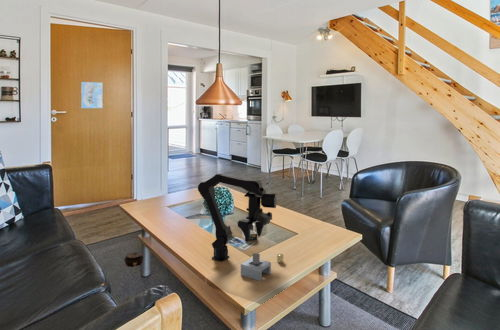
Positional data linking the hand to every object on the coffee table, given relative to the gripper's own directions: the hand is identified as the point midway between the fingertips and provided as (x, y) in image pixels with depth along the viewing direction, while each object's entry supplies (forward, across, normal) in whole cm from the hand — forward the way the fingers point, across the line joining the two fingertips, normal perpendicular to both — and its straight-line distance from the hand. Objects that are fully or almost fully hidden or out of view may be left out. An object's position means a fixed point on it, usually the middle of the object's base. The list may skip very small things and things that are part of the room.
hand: (253, 238), depth 144 cm
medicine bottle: (+13, +22, +18) cm, 32 cm away
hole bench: (+12, -9, -8) cm, 17 cm away
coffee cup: (+23, -33, +47) cm, 62 cm away
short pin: (+12, +8, -11) cm, 18 cm away
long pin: (+12, -9, -8) cm, 17 cm away
